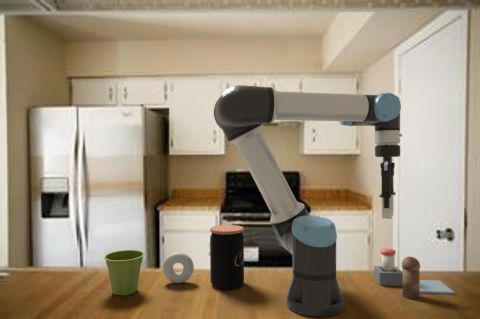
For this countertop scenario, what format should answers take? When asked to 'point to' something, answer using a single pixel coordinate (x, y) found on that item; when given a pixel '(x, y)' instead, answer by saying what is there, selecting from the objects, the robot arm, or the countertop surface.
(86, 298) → the countertop surface
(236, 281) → the coffee jar
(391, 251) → the button plunger
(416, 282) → the brown domed cylinder
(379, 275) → the button collar
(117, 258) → the plant pot
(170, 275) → the donut
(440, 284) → the tile
